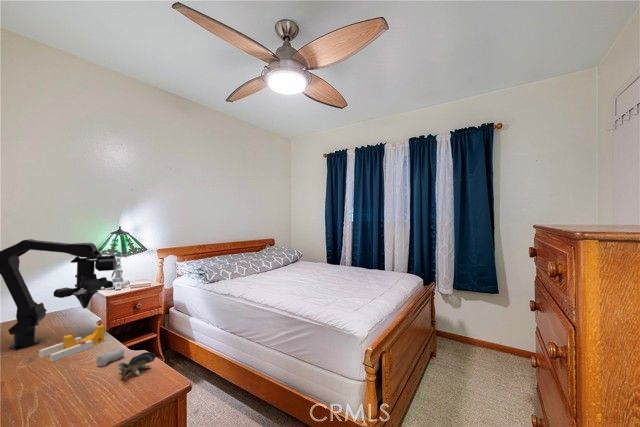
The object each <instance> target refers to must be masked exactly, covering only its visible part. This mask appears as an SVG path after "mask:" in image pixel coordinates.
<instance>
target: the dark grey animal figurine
mask: <svg viewBox="0 0 640 427" xmlns="http://www.w3.org/2000/svg"><path fill="white" fill-rule="evenodd" d="M156 358H157V356H156V354H155V353H153V352H142V353H140V354H138V355H136V356H133V357H132V358H131V359H130V360H129V362H128V363H125V362H119V363H118V364H117V365H118V367H119V368H118V370H120V372H118V375H120V376H121V379H120V381H123V380H124V379H125V378H126V377H127V376H128V374H130V373H133V374H134V375H136V376H137V377H138V378H140V376H141V373H140V371H139V370H138V369H151V368H150V367H149V366H150V365H148V364H150V363H153V362H154V361H155V360H156Z"/></svg>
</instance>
